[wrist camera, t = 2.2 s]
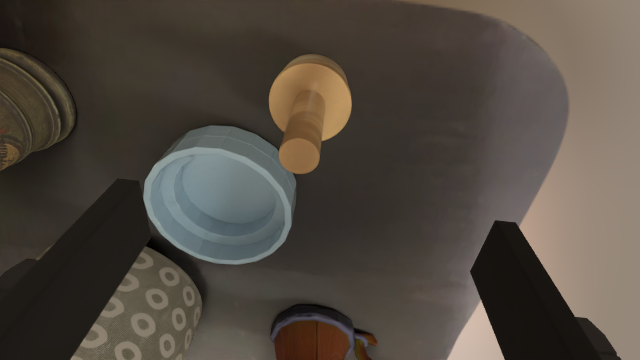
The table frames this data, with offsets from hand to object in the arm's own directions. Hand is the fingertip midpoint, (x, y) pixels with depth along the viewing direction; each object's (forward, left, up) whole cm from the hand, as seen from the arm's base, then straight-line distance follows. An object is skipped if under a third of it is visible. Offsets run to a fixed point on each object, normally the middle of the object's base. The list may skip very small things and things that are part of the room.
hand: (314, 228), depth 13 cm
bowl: (+9, +11, -19) cm, 24 cm away
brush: (+1, +1, -19) cm, 19 cm away
